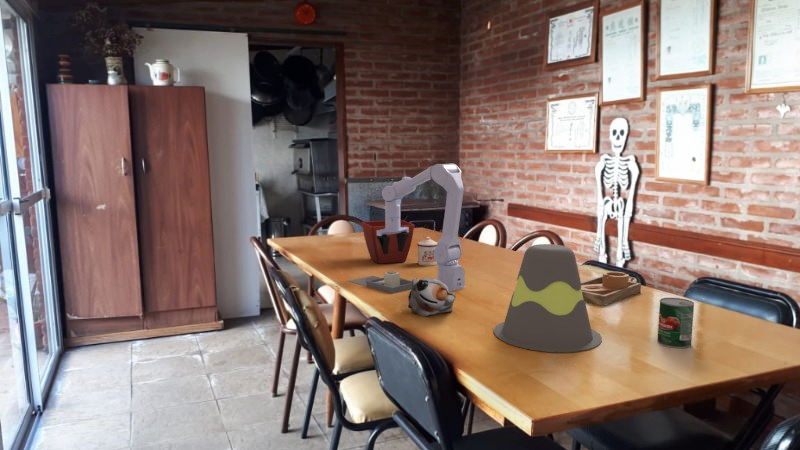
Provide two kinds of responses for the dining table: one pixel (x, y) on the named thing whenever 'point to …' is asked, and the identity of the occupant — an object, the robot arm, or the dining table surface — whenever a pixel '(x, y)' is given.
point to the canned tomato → (675, 322)
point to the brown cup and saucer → (608, 283)
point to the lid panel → (363, 280)
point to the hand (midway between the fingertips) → (393, 252)
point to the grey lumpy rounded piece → (430, 297)
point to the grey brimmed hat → (548, 304)
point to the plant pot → (393, 253)
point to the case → (380, 286)
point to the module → (392, 279)
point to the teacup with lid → (426, 252)
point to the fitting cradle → (609, 297)
